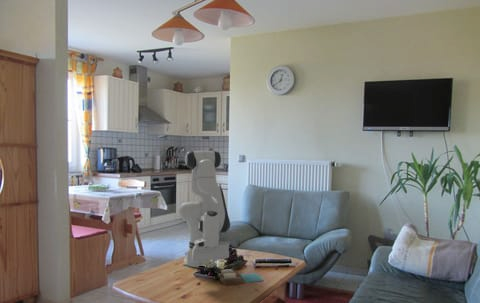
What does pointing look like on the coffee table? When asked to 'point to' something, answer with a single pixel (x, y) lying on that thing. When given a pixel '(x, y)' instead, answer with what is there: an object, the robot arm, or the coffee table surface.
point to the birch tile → (228, 273)
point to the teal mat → (251, 277)
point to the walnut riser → (231, 279)
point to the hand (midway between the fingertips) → (210, 267)
